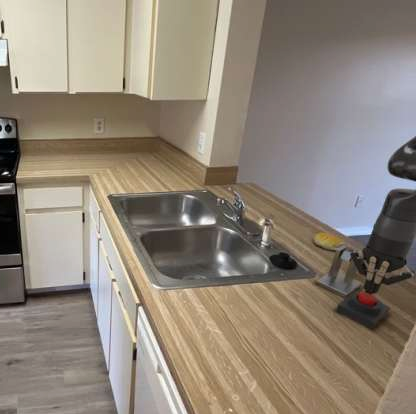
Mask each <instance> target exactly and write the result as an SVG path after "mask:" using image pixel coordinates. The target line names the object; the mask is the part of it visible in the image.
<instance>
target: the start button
mask: <svg viewBox="0 0 416 414" xmlns="http://www.w3.org/2000/svg"><path fill="white" fill-rule="evenodd" d="M359 292H360V293H359V296H358V300H359V301H360V302H362V303H364V304H366V305H370V306H374V305H375V303H376V300H377V299H378V298H377V297H376V295H375V294H372V295H370V294H368V293H366V292H365V291H359Z"/></svg>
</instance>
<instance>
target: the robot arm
mask: <svg viewBox="0 0 416 414" xmlns="http://www.w3.org/2000/svg"><path fill="white" fill-rule="evenodd" d="M386 166H387V171H388V173H389V174H390V176H392V177H394V178H398V179H402V180H406V181H410V182H414V183H416V135H415V136H413V137H412V138H411V139H409V140H408V141H406V142H405V143H404V144H403V145H401V146H399V148H397V149H396V150H395V151H394V152H393V153H392V155H391V156H390V157H389V159H388V161H387V165H386ZM415 238H416V189H415V188H414V189H413V188H412V189H411V188H393V189H391V190H389V191H388V193H387V194H386V197H385V199H384V202H383V205H382V208H381V210H380V212H379V214H378V216H377V218H376V219H375V223H374V224H373V225H372V230H371V232H370V235H369V238H368V241H367V244H366V245H365V246H364V247H363V248H362V249H361V250H358V249H355V250H354V251H353V252H352V253H351V254H350V256H351V258H352V260H353V262H354V264H355V266H356V268H357V272H358V274H359V275H361V276H363V277H365V281H364V284H363V287H362V288H363V290H364V292H366V293H368V294H370V295H375V294H377V293H378V292H379V290H380V288H381V286H382V285H385V286H391V285H393V284H397V283H400V282H403V281H406V280H409V279H411V278H413V276H415V274H416V272H415V271H414V270H410V269H409V267H408V266H407V264H408V263H407V256H408V254H409V251H410V250H411V247H412V244H413V242H414V240H415ZM363 255H364V256H363ZM364 257H365V260H363V258H364ZM367 265H368V266H367ZM398 270H399V271H398ZM395 271H398V273H397V274H395V275H393V276H390V277H389V276H388V277H387V275H388V274H389V273H392V272H395Z"/></svg>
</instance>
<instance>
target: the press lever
mask: <svg viewBox="0 0 416 414" xmlns="http://www.w3.org/2000/svg"><path fill="white" fill-rule="evenodd" d="M353 251H355V250H353V249H351V248H349V249H348V250H346V251H343V254H342V256H341V259H343V260H342V261H346V262H349V263H350V261H351V256H350V254H351V253H352V252H353ZM363 256H364V255H363ZM363 260H364V261H366V260H365V257H364V258H363Z"/></svg>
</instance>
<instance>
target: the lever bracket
mask: <svg viewBox="0 0 416 414" xmlns="http://www.w3.org/2000/svg"><path fill="white" fill-rule="evenodd" d="M347 249H348V246H347V245H345V244H344V245H343V246H341V247H339V248H338V249H337V250H335V251H334V252H335V253H334V255H333V258H332V259H333V260H332V262H331V264H330V268H329V271H328V272H327V273H326V274H323V276H321V277H319V278H318V279H316V280H315V285H317V286H320V287H321V288H324V289H325V290H328V291H330V292H332V293H334V294H337V295H339V296H340V297H342V298H344V299H346V298H347V297H349V296H350V295H351V294H352V293H354V292H355V291H357V290H358V289H359V288H360V287H361V286H362V284H363V283H362V282H361V281H359V280H357V279H355V276H356V273H357V272H358V270H357V268H356V266H355V264H354V262H353V260H352V258H351V261H350V262H349V264H348V266H347V270H346V273H345V274H343V273H341V272H340V269H341V266H342V263H343V261H344V260H343V259H341V256H342V254H343V251H347Z"/></svg>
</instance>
